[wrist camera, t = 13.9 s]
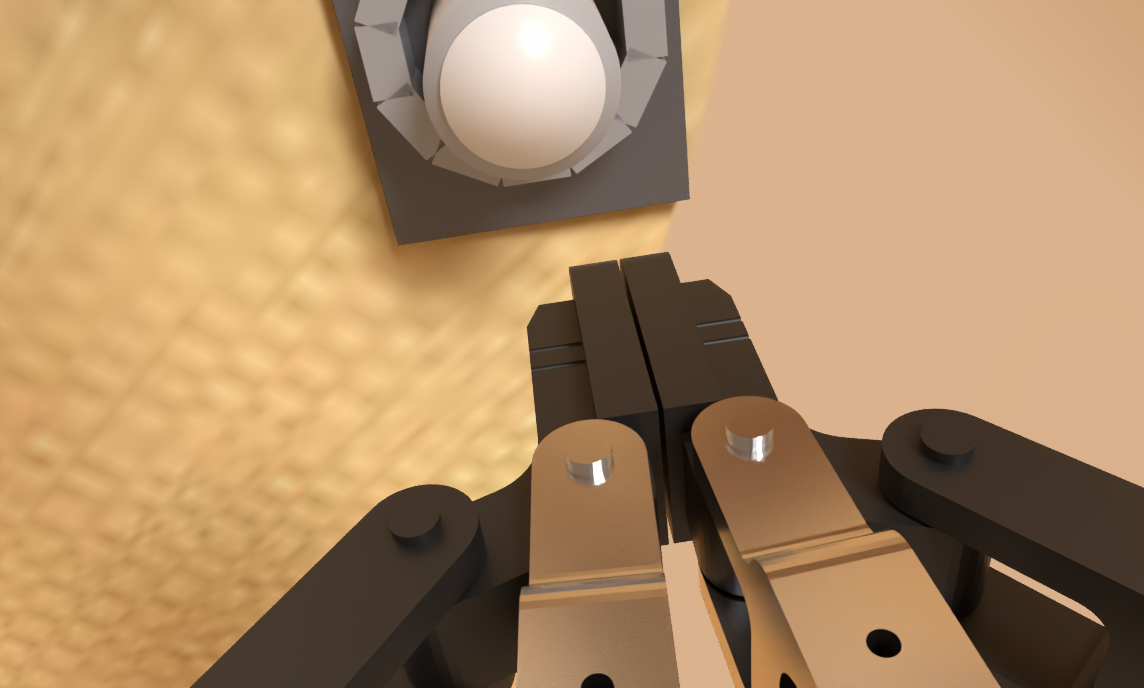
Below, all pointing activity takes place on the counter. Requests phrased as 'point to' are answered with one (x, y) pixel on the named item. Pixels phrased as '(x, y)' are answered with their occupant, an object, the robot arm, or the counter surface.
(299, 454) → the counter surface
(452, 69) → the peg
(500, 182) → the plate with ring hole
